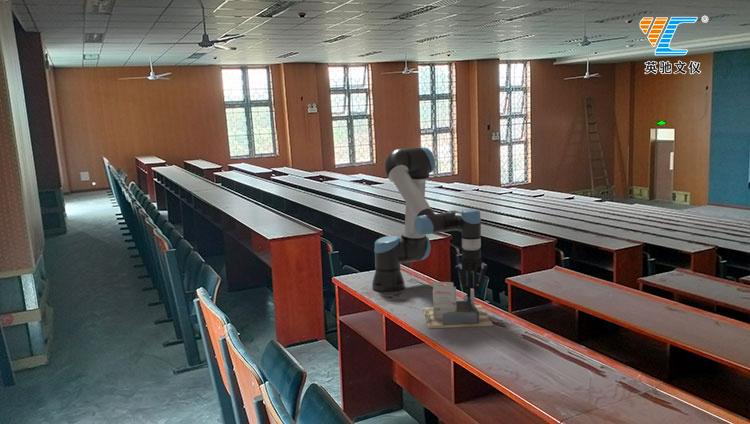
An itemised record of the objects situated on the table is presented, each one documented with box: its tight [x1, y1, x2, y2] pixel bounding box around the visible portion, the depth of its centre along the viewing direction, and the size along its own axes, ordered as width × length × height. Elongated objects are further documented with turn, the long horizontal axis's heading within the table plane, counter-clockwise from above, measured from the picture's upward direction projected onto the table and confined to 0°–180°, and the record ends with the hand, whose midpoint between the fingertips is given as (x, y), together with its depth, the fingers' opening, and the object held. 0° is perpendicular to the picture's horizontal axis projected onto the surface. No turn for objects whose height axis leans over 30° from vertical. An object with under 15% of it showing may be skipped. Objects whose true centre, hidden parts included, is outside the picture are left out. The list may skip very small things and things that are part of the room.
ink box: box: [432, 281, 457, 319], centre depth 226 cm, size 9×5×15 cm, turn 72°
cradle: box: [422, 304, 493, 329], centre depth 229 cm, size 21×24×4 cm
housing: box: [443, 295, 479, 325], centre depth 229 cm, size 21×14×4 cm, turn 1°
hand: (471, 305), depth 237 cm, fingers closed
